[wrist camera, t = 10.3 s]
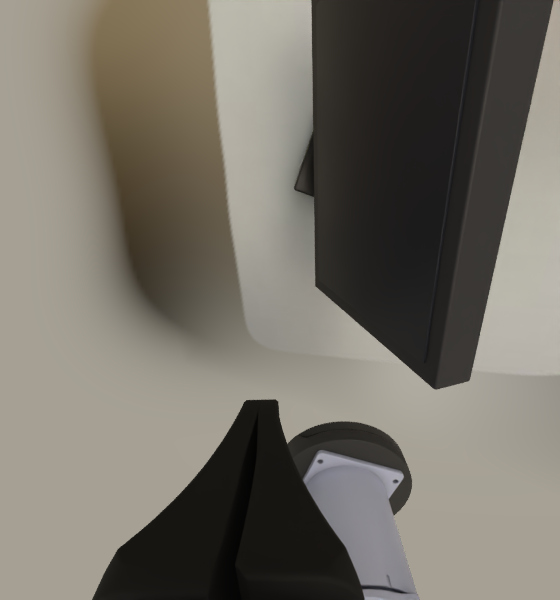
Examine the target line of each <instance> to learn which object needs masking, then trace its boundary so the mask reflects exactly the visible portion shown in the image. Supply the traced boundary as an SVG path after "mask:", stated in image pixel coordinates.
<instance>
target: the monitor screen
mask: <svg viewBox="0 0 560 600" xmlns="http://www.w3.org/2000/svg"><path fill="white" fill-rule="evenodd" d="M552 5H553V0H312V66H313V141H314V215H315V286H316V287H317V288H318V289H319V290H321V291H322V292H323V293H324V294H325V295H326V296H328V297H329V298H330V299H331V300H332V301H333V302H334V303H336V304H337V305H338V306H339V307H340V308H341V309H342V310H344V311H345V312H346V313H347V314H348V315H349V316H351V317H352V318H353V319H354V320H355V321H356V322H357V323H359V324H360V325H361V326H362V327H363V328H364V329H365V330H367V331H368V332H369V333H370V334H371V335H372V336H374V337H375V338H376V339H377V340H378V341H379V342H380V343H382V344H383V345H384V346H385V347H386V348H387V349H388V350H390V351H391V352H392V353H393V354H394V355H395V356H397V357H398V358H399V359H400V360H401V361H402V362H403V363H405V364H406V365H407V366H408V367H409V368H410V369H412V370H413V371H414V372H415V373H416V374H417V375H419V376H420V377H421V378H422V379H423V380H424V381H425V382H426V383H428V384H429V385H430V386H431V387H432V388H434V389H440V388H444V387H448V386H452V385H456V384H460V383H464V382H467V381H469V380H470V377H471V372H472V368H473V363H474V358H475V354H476V349H477V345H478V340H479V336H480V331H481V327H482V322H483V318H484V313H485V309H486V304H487V299H488V295H489V290H490V286H491V281H492V277H493V272H494V268H495V263H496V259H497V254H498V250H499V245H500V241H501V236H502V231H503V227H504V222H505V218H506V213H507V209H508V204H509V200H510V195H511V191H512V186H513V182H514V177H515V173H516V168H517V163H518V159H519V154H520V150H521V145H522V141H523V136H524V132H525V127H526V123H527V118H528V114H529V109H530V105H531V100H532V95H533V91H534V86H535V82H536V77H537V73H538V68H539V64H540V59H541V55H542V50H543V46H544V41H545V36H546V32H547V27H548V23H549V18H550V14H551V9H552Z"/></svg>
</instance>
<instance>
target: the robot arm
mask: <svg viewBox="0 0 560 600" xmlns="http://www.w3.org/2000/svg"><path fill="white" fill-rule="evenodd" d="M403 478H404V476H403V473H402V472H401V471H400V470H396V469H392V468H389V467H385V466H381V465H378V464H374V463H370V462H366V461H363V460H359V459H355V458H351V457H348V456H344V455H340V454H337V453H333V452H329V451H325V450H319V451H317V453H316V454H315V456H314V458H313V460H312V462H311V464H310V466H309V468H308V470H307V472H306V474H305V475H304V477H303V479H302V477H301V475H300V473H299V471H298V469H297V467H296V465H295V462H294V460H293V458H292V455H291V453H290V450H289V448H288V445H287V442H286V439H285V436H284V433H283V430H282V426H281V422H280V418H279V407H278V401H277V400H246V401H245V402H244V404H243V406H242V408H241V410H240V412H239V414H238V416H237V418H236V419H235V421H234V423H233V425H232V426H231V428H230V429H229V431H228V433H227V435H226V436H225V438H224V439H223V441H222V442H221V444H220V445H219V447H218V448H217V449H216V451H215V452H214V454H213V455H212V456H211V458H210V459H209V460H208V462H207V463H206V464H205V466H204V467H203V468H202V469H201V471H200V472H199V473H198V474H197V476H196V477H195V478H194V479H193V480H192V481H191V482H190V484H188V486H187V487H186V488H185V489H184V490H183V491H182V492H181V493H180V494H179V495H178V496H177V497H176V499H174V501H172V502H171V503H170V504H169V505H168V506H167V507H166V508H165V509H164V510H163V511H162V512H161V513H160V514H159V515H158V516H157V517H156V518H155V519H154V520H152V521H151V522H150V523H149V524H148V525H147V526H146V527H144V528H143V529H142V530H141V531H140V532H139V533H137V534H136V535H135V536H134V537H132V538H131V539H130V540H129V541H127V542H126V543H125V544H124V545H123V546H121V547H120V548H119V549H118V550H117V552H116V554H115V555H114V557H113V559H112V561H111V562H110V564H109V566H108V568H107V569H106V571H105V573H104V575H103V578H102V579H101V582H100V584H99V586H98V588H97V591H96V592H95V595H94V597H93V599H92V600H420V599H419V596H418V594H417V592H416V588H415V585H414V582H413V578H412V575H411V572H410V568H409V565H408V562H407V559H406V555H405V552H404V549H403V545H402V542H401V539H400V535H399V532H398V529H397V526H396V522H395V520H394V516H393V512H392V509H391V506H390V502H389V498H390V496H391V495H392V494H393V492H394V491H395V489H396V488H397V487H398V485H399V484H400V482H401V481H402V480H403Z"/></svg>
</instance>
